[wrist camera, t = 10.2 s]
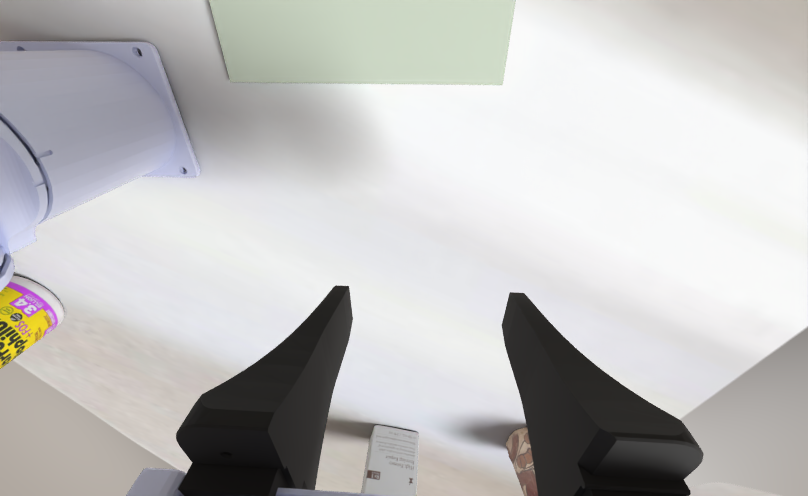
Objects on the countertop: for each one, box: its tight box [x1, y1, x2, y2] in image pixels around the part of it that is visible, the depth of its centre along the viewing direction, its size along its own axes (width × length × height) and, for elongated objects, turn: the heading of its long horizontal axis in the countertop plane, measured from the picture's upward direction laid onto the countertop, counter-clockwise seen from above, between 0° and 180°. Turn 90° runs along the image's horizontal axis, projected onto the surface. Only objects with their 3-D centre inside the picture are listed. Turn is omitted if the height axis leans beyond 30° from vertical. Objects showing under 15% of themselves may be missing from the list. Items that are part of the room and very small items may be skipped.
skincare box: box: [361, 425, 419, 496], centre depth 36 cm, size 6×4×12 cm
